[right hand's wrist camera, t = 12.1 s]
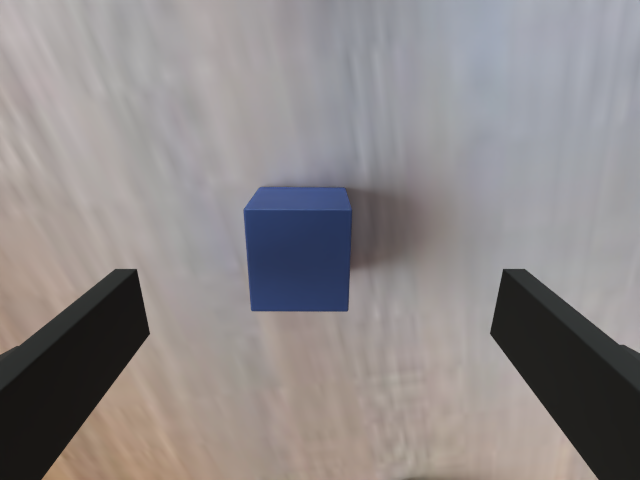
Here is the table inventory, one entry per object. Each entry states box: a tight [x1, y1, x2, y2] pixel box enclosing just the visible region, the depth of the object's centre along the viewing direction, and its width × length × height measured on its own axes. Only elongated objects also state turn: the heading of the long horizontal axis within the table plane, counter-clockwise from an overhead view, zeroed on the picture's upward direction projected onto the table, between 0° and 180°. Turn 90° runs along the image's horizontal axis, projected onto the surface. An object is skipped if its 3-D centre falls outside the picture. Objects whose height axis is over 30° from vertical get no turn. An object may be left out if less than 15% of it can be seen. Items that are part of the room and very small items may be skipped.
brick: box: [244, 187, 352, 311], centre depth 18 cm, size 5×5×4 cm
